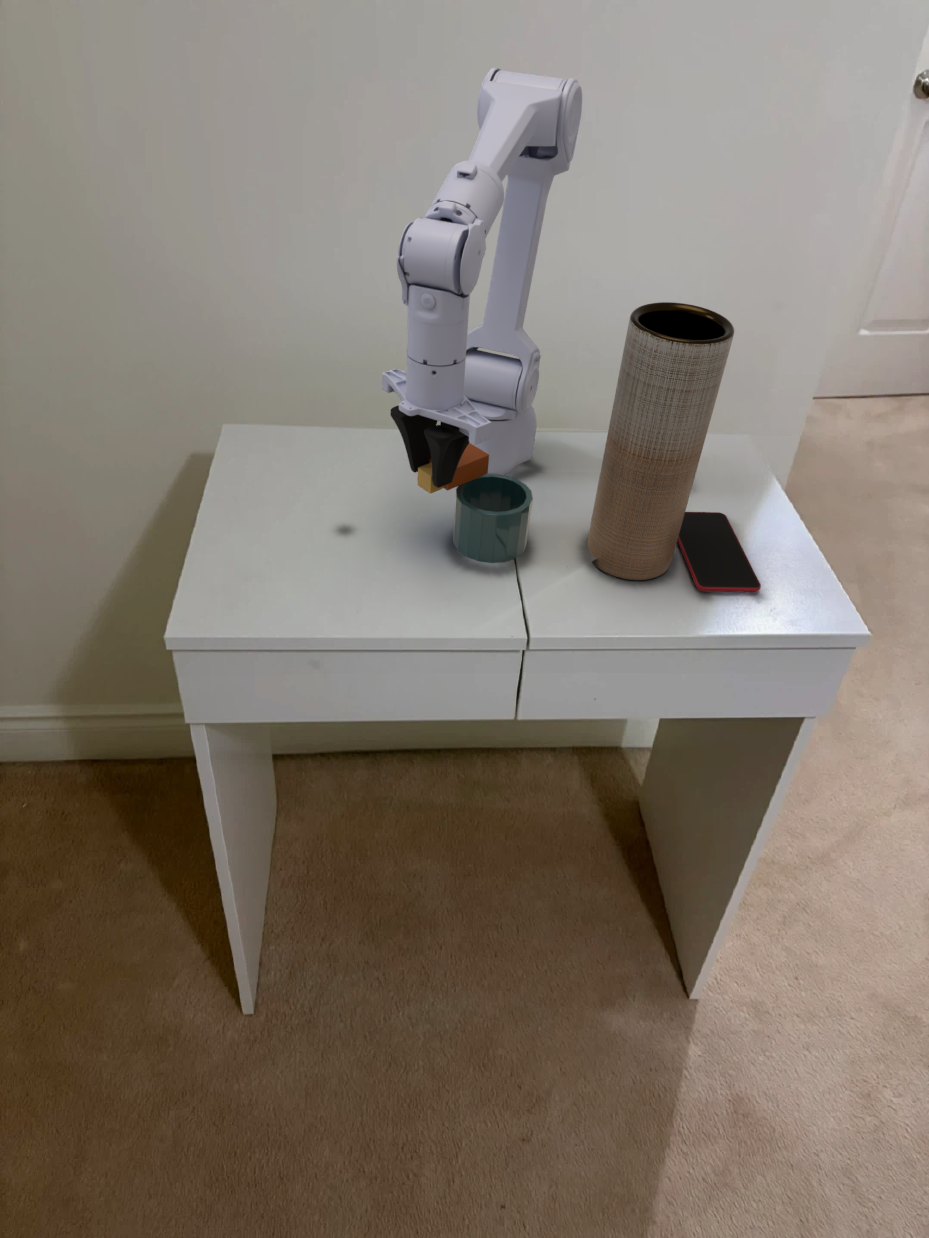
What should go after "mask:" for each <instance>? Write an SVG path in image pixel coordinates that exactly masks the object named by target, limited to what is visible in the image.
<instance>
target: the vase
mask: <svg viewBox="0 0 929 1238" xmlns="http://www.w3.org/2000/svg"><path fill="white" fill-rule="evenodd" d="M734 335H735V328H734V324H733V323H732V322H731V321H730V320H729V319H728V318H726V317H725V316H723V315H722V314H720V313H718V312H716V311H713V310H711V309H709V308H705V307H702V306H700V305H699V306H698V305H694V304H688V303H683V302H669V301H666V302H665V301H664V302H661V301H660V302H652V303H647V304H643V305H641V306H638V307H637V308H635V309H633V311H632V312H631V313H630V315H629V319H628V325H627V329H626V335H625V340H624V346H623V351H622V356H621V362H620V365H619V366H620V367H619V371H618V372H619V373H618V378H617V383H616V388H615V394H614V397H613V403H612V409H611V415H610V420H609V424H608V430H607V436H606V441H605V445H604V446H605V447H604V451H603V457H602V461H601V466H600V471H599V472H600V473H599V477H598V483H597V488H596V493H595V498H594V504H593V509H592V515H591V519H590V525H589V526H590V527H589V530H588V534H587V535H588V536H587V543H586V544H587V549H588V551H589V553H590V554H591V555H592V556H593V557H594V558H595V559H594V560H592V561H591V563H592V564H593V565H594V566H595V567H597V568H598V569H599V570H600V571H602V572H604V573H606V574H608V575H610V576H613V577H615V578H619V579H623V580H630V581H647V580H651V579H655V578H657V577H659V576H661V575H663V574H665V573H666V572H667V571H668V569H669V568H670V566H671V564H672V561H673V558H674V554H675V551H676V547H677V544H678V541H677V540H678V536H679V533H680V529H681V525H682V522H683V518H684V514H685V512H687V511H686V510H687V507H688V503H689V499H690V496H691V492H692V489H693V486H694V481H695V479H696V474H697V472H698V471H697V470H698V467H699V463H700V459H701V456H702V453H703V449H704V446H705V442H706V437H707V434H708V430H709V427H710V423H711V420H712V415H713V412H714V410H715V405H716V401H717V397H718V394H719V390H720V386H721V383H722V379H723V376H724V373H725V368H726V365H727V362H728V357H729V354H730V350H731V346H732V344H733V339H734Z"/></svg>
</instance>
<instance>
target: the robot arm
mask: <svg viewBox="0 0 929 1238" xmlns="http://www.w3.org/2000/svg"><path fill="white" fill-rule="evenodd" d="M476 107H477V109H476V116H477V124H478V129H479V132H478V136H477V138H476V140H475V143H474V145H473V148H472V150H471V152H470V155H469V158H468V160H463V161H460V162H458V163H456V164H455V165H453V166H452V167H451V169H450V170H449V172H448V174H447V176H446V177H445V179H444V181H443V183H442V184H441V186H440V188H439V190H438V192H437V194H436V195H435V197H434V199H433V201H432V203H431V205H430V206H429V208H428V209H427V211H426V214H425V215H424V216H423V217H422V216H420V217H417V218H416V219H415V220H413V221H409V222H408V223H406V225H405V227H404V228H403V230H402V233H401V236H400V239H399V243H398V250H397V257H396V271H397V276H398V279H399V282H400V285H401V301H402V303H403V304H404V305H405V306H407V319H406V322H407V323H406V371H404V370H402V369H400V368H398V367H397V368H392V369H389V370H386V371H383V372H382V375H381V376H382V377H381V381H382V383H381V384H382V388H381V389H382V391H384V392H386V393H388V394H391V393H395V394H396V395H397V397H398V398H399V399H400V402H398V405H396V406H395V405H394V406H393V407H391V408H390V417H391V418H392V420H393V421H394V423H395V425H396V427H397V429H398V431H399V433H400V436H401V438H402V440H403V444H404V447H405V451H406V455H407V459H408V462H409V467H410V470H411V472H413V473H415V474H417V473H418V468H419V467H421V466H424V465H426V464H429V460H430V459H431V458H432V479H433V484H434V486H436V487H437V488H440V487H442V486H444V485H447V484H449V483H452V480H453V477H454V474H455V471H456V468H457V466H458V463H459V461H460V458H461V456H462V454H463V452H464V450H465V449H466V447H467V446H468V444H469V443H471V444H472V445H474V446H476V447H477V448H479V449H481V450H482V451H484V452H486V453H487V454H489V464H488V473H487V474H492V473H493V474H502V475H506V474H507V473H509V472H511V471H512V470H513V469H514V468H515V467H517V466H519V465H520V464H524V463H525V462H528V461H530V460H531V459H533V455H534V449H535V448H534V447H535V440H536V432H537V415H536V412H535V408H534V406H533V403H534V400H535V398H536V394H537V390H538V387H539V386H538V385H539V379H540V363H541V358H542V357H541V356H542V355H541V350H540V348H539V346H538V345H537V344H536V343H535V341H533V339H532V338H531V337H530V336H529V334H528V333H527V332H526V331H525V329H524V325H525V324H524V322H525V318H526V312H527V308H528V302H529V297H530V292H531V286H532V281H533V275H534V270H535V266H536V265H535V264H536V259H537V255H538V249H539V244H540V239H541V234H542V228H543V222H544V217H545V213H546V207H547V201H548V197H549V194H550V191H551V187H552V185H553V182H554V178H555V177H556V176H557V175H560V174H563V173H566V172H568V171H569V170H570V166H571V163H572V162H571V161H572V160H573V159H574V154H575V149H576V144H577V139H578V135H579V130H580V124H581V118H582V112H583V111H582V109H583V108H582V107H583V90H582V86H581V85H580V83H579V80H578V79H577V77H576V78H574V77H569V78H563V77H555V76H548V75H539V74H532V73H526V72H517V71H509V70H502V69H501V68H498V67H492V68H491V69H490V70H489V71H488V72H487V73H486V75H485V76H484V78H483V79H482V82H481V84H480V87H479V93H478V98H477V106H476ZM506 177H507V181H506V189H505V188H504V185H503V181H504V179H506ZM501 209H502V211H501V217H500V221H499V222H500V223H499V229H498V234H497V240H496V246H495V252H494V257H493V263H492V269H491V275H490V281H489V287H488V293H487V299H486V304H485V310H484V317H483V321H482V324H480V325H478V326H477V327H474V328H472V329H471V330H468V328H469V315H470V299H471V298H470V297H471V294H472V292H473V291H474V289H475V287H476V285H478V281H479V278H480V273H481V269H482V264H483V260H484V257H485V255H486V250H487V243H486V239H487V237H488V235H489V233H490V231H491V229H492V228H493V227H492V226H493V225H494V222H495V221H496V219H497V217H498V214H499V213H500V210H501ZM480 349H483V350H480ZM484 350H489V351H493V352H498V353H503V354H508V355H511V356H507V355H503V354H498V353H493V352H489V351H484ZM512 356H513V357H512ZM438 422H440V423H439V424H438Z"/></svg>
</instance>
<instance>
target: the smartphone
mask: <svg viewBox="0 0 929 1238" xmlns="http://www.w3.org/2000/svg"><path fill="white" fill-rule="evenodd" d="M677 544H678V546H679V548H680V550H681V553H682V555H683V557H684V560H685V562H686V565H687V568H688V570H689V573H690V575H691V578H692V580H693V582H694V585H695V588H696V589H697V590H699V591H701V592H704V593H707V592H708V593H709V592H711V593H713V592H714V593H757V592H759V591H760V590H761V587H762V585H761V583H760V580H759V578H758V577H757V575H756V572H755V571H754V570H755V569H753V567H752V565H751V562H750V560H749V558H748V556H747V554H746V552H745V551H744V548H743V546H742V545H741V542H740V540H739V539H738V537H737V534H736V533H735V530H734V528H733V526H732V525H731V521H730V520H729V518H728V516H727V515H726V514H725V513H722V512H720V511H719V512H718V511H717V512H714V511H713V512H712V511H685V514H684V518H683V522H682V525H681V529H680V533H679V536H678V540H677Z"/></svg>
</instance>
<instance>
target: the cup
mask: <svg viewBox="0 0 929 1238" xmlns="http://www.w3.org/2000/svg"><path fill="white" fill-rule="evenodd" d="M455 488H456V489H455V498H454V499H455V501H454V517H453V530H452V531H453V532H452V541H453V545H454V546H455V548H456V550H457V551H458V552H459V553H461V554H462V555H463V556H465V557H467V558H469V559H471V560H475V561H477V562H480V563H488V564H498V563H506V562H510V561H512V560H515V559H517V558H518V557H520V556H521V555H522V554H523V553H524V552H525V550H526V548H527V546H528V545H527V544H528V538H529V537H528V536H529V529H530V522H531V514H532V509H533V508H532V506H533V500H534V498H533V493H532V490H531V489H530V487H529V486H528V485H527V484H526V483H525V482H522V481H521V480H519V479H518V478H515V477H512V476H510V475H506V474H503V475H502V474H493V473H492V474H485V475H483V476H480V477H478V478H476V479H473V480H471V481H469V482H466V483H464V484H462V485H459V486H457V487H455Z"/></svg>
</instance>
